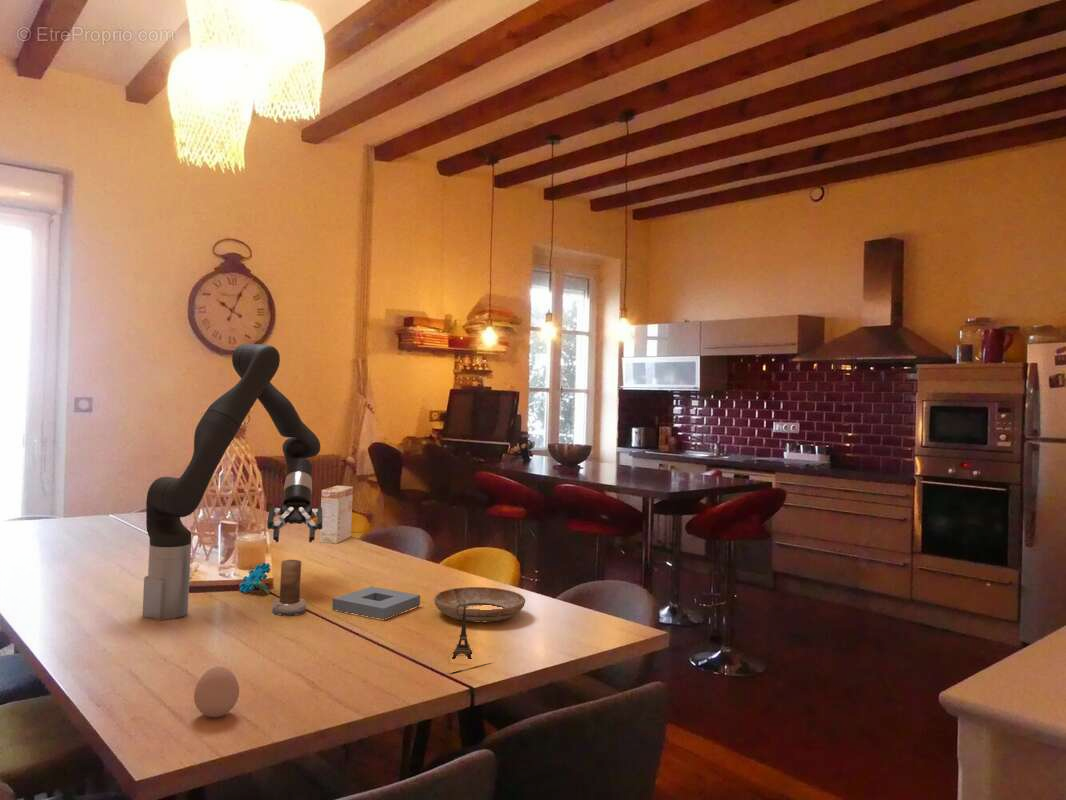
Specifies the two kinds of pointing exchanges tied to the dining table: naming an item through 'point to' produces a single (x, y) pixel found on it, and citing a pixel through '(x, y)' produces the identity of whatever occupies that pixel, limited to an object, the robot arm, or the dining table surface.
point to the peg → (290, 581)
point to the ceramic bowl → (479, 603)
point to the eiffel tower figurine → (464, 647)
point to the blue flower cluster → (256, 579)
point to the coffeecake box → (336, 514)
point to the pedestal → (289, 607)
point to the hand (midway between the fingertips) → (293, 540)
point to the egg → (216, 692)
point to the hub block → (376, 602)
